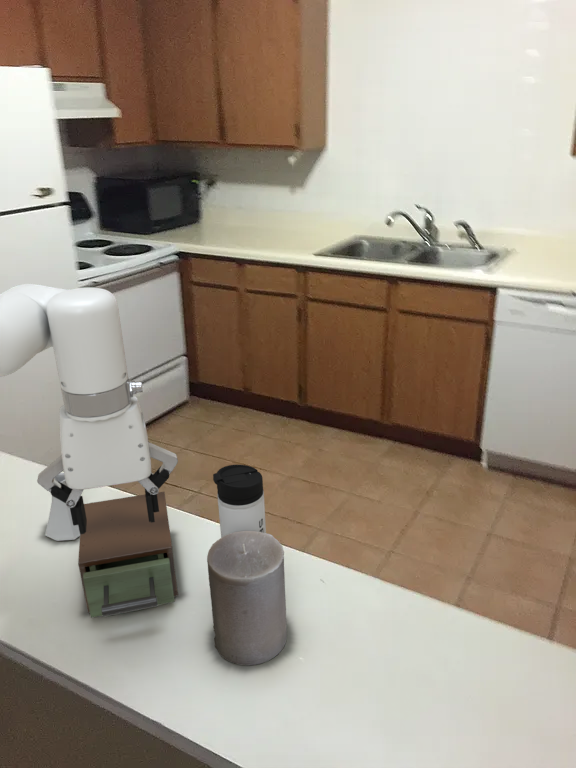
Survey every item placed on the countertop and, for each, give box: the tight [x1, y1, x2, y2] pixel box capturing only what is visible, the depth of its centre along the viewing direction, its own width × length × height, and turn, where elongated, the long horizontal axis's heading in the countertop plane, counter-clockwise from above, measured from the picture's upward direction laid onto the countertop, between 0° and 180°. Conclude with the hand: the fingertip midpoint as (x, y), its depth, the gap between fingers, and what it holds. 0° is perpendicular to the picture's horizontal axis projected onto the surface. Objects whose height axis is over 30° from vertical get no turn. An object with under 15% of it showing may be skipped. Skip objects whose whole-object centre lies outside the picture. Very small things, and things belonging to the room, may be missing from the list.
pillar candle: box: [206, 531, 288, 666], centre depth 85 cm, size 10×10×15 cm
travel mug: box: [212, 464, 267, 538], centre depth 92 cm, size 6×7×20 cm
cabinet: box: [77, 491, 179, 614], centre depth 100 cm, size 15×13×9 cm
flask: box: [44, 472, 80, 542], centre depth 110 cm, size 7×7×10 cm
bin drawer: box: [83, 553, 176, 618], centre depth 95 cm, size 19×11×7 cm, turn 14°
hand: (117, 521), depth 84 cm, fingers open, 7 cm apart
